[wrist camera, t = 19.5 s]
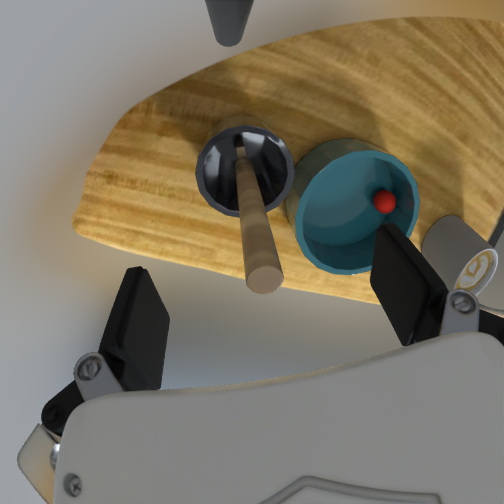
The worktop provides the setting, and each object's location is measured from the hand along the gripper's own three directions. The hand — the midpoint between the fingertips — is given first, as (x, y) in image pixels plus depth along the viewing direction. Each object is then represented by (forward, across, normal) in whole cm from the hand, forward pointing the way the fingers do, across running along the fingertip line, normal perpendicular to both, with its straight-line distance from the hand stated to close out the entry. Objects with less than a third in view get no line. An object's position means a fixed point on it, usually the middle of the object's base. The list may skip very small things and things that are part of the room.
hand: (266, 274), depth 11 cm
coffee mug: (+23, -31, +21) cm, 44 cm away
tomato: (+21, -17, +9) cm, 28 cm away
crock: (+23, 0, +1) cm, 23 cm away
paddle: (+22, 0, +1) cm, 23 cm away
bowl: (+23, -12, +9) cm, 27 cm away
